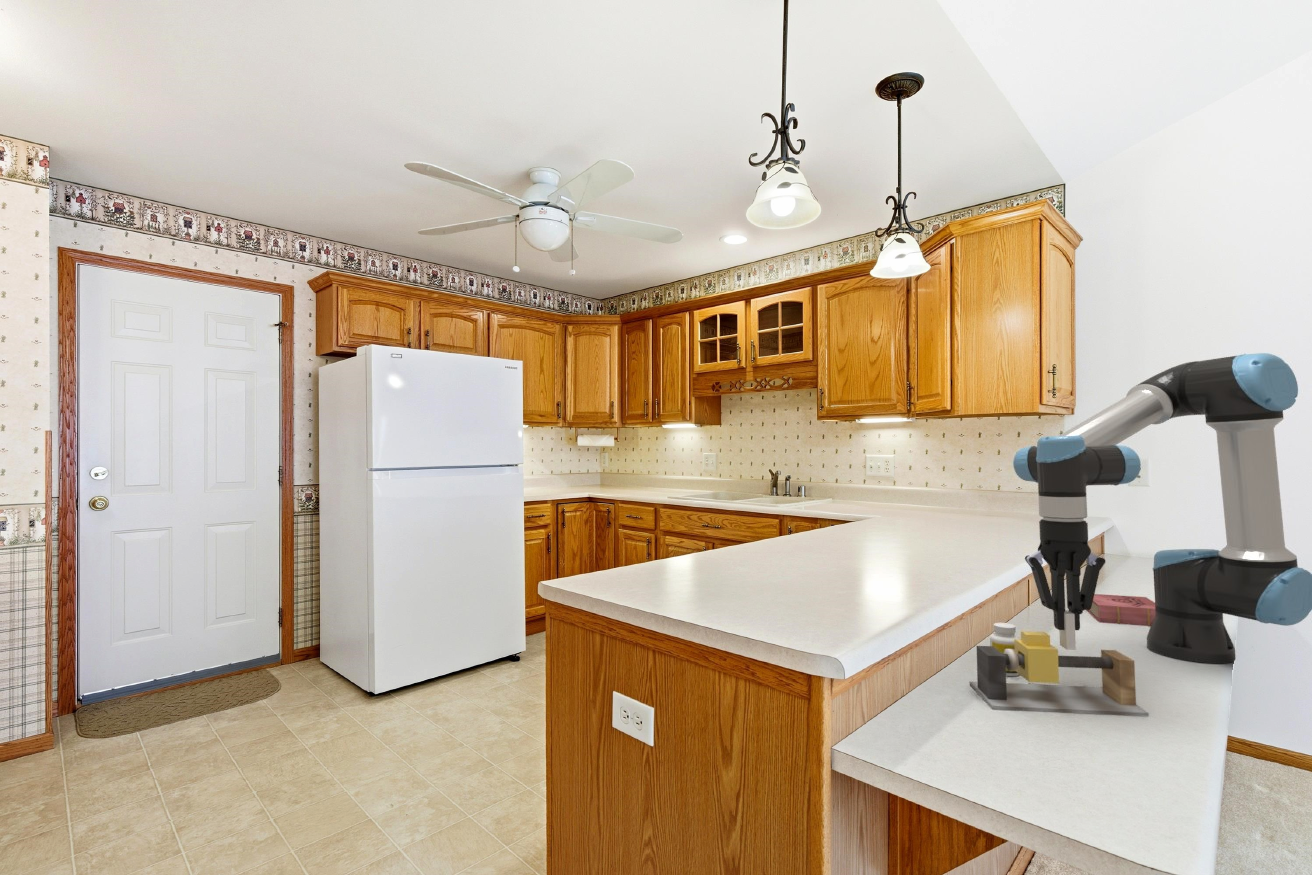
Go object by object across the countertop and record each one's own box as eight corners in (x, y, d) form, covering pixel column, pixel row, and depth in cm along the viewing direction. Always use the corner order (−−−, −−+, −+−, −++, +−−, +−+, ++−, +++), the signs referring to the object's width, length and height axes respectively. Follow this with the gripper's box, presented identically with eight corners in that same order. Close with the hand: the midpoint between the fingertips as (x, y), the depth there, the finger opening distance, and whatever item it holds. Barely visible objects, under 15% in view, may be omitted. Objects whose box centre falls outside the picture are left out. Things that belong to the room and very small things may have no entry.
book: (1100, 624, 166) (1099, 605, 166) (1085, 610, 180) (1084, 593, 180) (1167, 629, 160) (1166, 609, 160) (1146, 615, 174) (1145, 596, 174)
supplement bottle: (1024, 677, 126) (1023, 629, 127) (995, 676, 128) (994, 627, 128) (1015, 668, 132) (1013, 621, 132) (987, 667, 133) (985, 620, 133)
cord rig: (1109, 690, 119) (1107, 643, 120) (1148, 716, 107) (1146, 663, 108) (969, 684, 123) (968, 638, 123) (992, 709, 111) (991, 658, 112)
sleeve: (1043, 671, 118) (1042, 629, 119) (1059, 683, 113) (1057, 638, 113) (1015, 670, 119) (1014, 628, 119) (1028, 682, 113) (1027, 637, 114)
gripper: (1091, 516, 119) (1095, 642, 118) (1016, 517, 121) (1021, 640, 120) (1113, 521, 111) (1118, 655, 111) (1033, 521, 113) (1038, 652, 113)
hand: (1067, 647), depth 115 cm, fingers closed
